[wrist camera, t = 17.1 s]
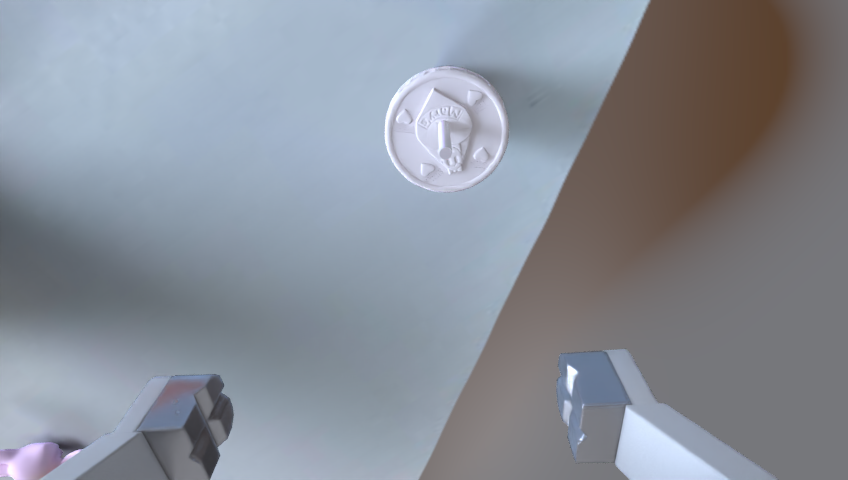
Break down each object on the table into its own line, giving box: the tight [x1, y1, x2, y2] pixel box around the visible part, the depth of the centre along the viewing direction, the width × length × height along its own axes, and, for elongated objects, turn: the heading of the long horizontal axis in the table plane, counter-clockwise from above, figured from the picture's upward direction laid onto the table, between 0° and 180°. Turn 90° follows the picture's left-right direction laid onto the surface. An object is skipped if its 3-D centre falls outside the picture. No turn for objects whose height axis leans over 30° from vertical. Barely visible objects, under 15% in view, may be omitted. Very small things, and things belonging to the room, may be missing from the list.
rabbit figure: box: [0, 442, 82, 480], centre depth 49 cm, size 6×6×15 cm
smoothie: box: [385, 66, 509, 192], centre depth 26 cm, size 6×6×14 cm
